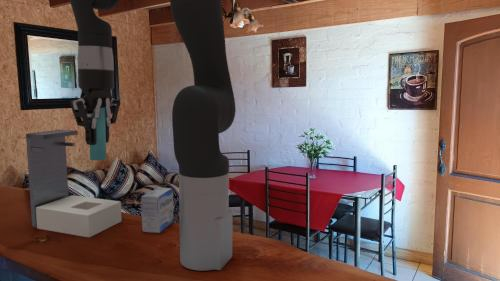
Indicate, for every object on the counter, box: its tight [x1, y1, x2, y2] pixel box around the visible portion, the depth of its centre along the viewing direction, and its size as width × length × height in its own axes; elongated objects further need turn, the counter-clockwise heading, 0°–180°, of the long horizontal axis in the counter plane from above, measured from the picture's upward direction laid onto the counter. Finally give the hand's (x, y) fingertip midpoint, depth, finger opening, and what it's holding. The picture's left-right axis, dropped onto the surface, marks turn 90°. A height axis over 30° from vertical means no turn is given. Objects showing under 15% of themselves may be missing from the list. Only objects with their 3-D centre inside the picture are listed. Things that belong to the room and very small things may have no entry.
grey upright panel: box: [25, 129, 79, 228], centre depth 91 cm, size 5×10×22 cm, turn 161°
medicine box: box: [141, 187, 174, 234], centre depth 89 cm, size 8×4×9 cm, turn 168°
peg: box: [89, 108, 107, 161], centre depth 87 cm, size 4×4×12 cm
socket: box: [36, 194, 122, 238], centre depth 90 cm, size 15×11×5 cm
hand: (97, 143), depth 87 cm, fingers closed on peg, 3 cm apart
